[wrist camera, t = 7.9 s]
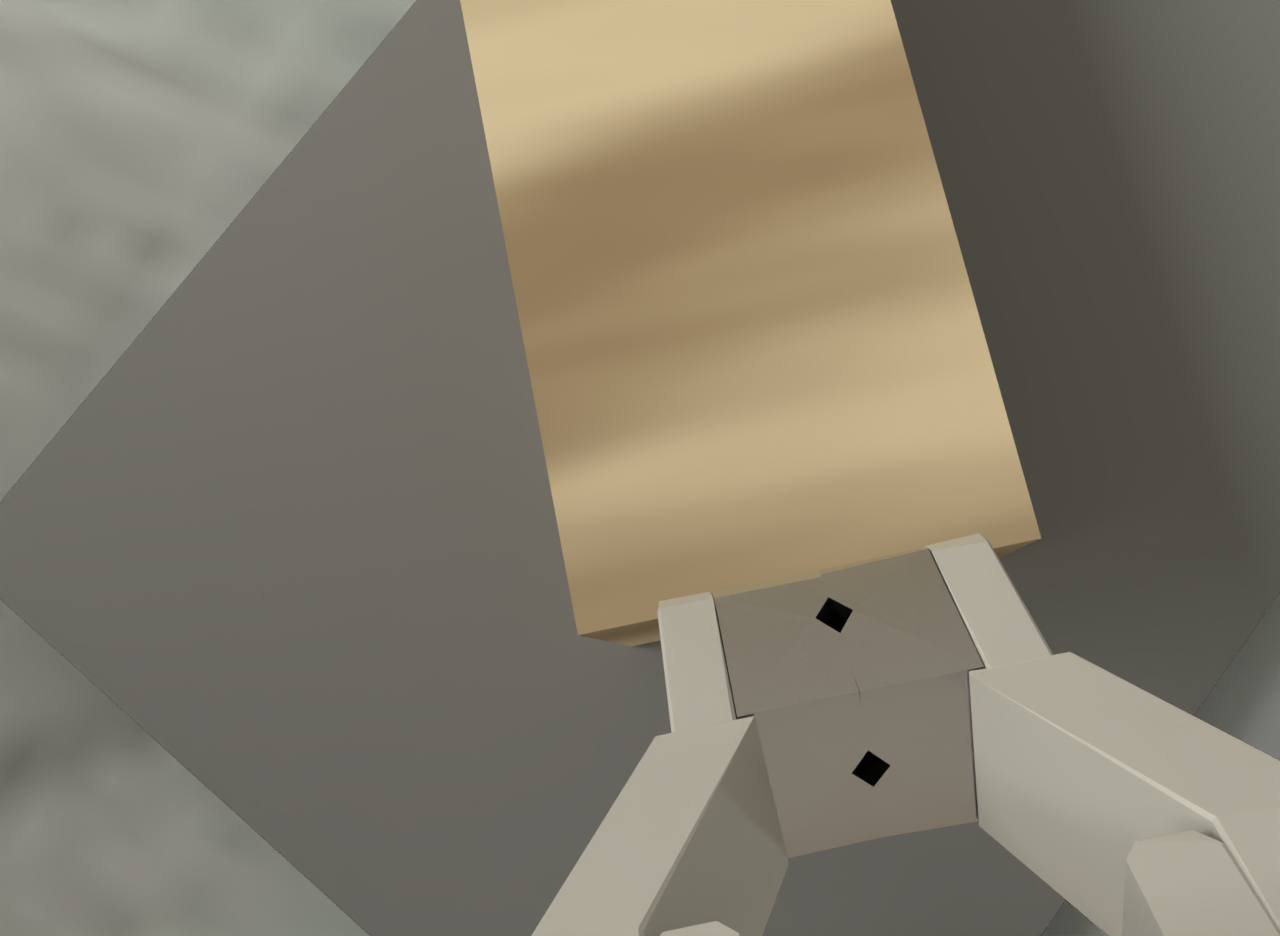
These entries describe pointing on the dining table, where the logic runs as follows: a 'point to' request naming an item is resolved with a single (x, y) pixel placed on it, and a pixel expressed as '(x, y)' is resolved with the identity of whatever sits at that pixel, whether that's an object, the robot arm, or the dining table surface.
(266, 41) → the dining table surface
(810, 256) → the maple block
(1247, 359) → the rubber mat
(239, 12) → the dining table surface
